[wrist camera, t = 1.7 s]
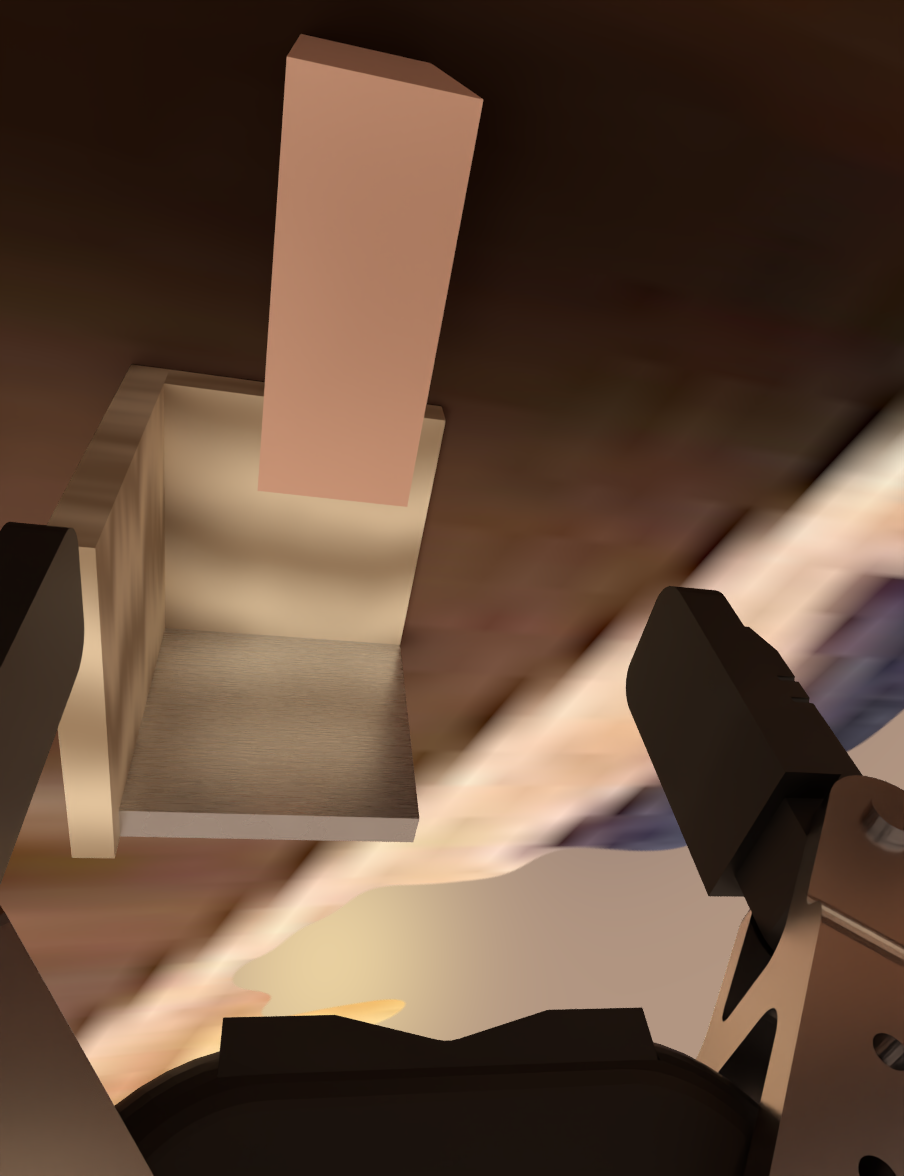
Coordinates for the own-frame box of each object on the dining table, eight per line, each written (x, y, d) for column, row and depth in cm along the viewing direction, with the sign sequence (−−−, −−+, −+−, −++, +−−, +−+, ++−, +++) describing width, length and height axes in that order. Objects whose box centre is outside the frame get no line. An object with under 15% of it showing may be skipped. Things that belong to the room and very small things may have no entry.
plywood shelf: (131, 364, 33) (37, 543, 23) (441, 406, 36) (490, 583, 25) (138, 630, 41) (72, 857, 30) (393, 648, 44) (415, 862, 33)
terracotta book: (300, 34, 28) (286, 56, 18) (430, 63, 29) (483, 99, 19) (277, 348, 34) (257, 490, 24) (385, 364, 35) (407, 506, 25)
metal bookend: (165, 627, 40) (118, 810, 31) (400, 644, 42) (419, 818, 33) (165, 651, 40) (120, 836, 32) (395, 666, 43) (413, 842, 34)
